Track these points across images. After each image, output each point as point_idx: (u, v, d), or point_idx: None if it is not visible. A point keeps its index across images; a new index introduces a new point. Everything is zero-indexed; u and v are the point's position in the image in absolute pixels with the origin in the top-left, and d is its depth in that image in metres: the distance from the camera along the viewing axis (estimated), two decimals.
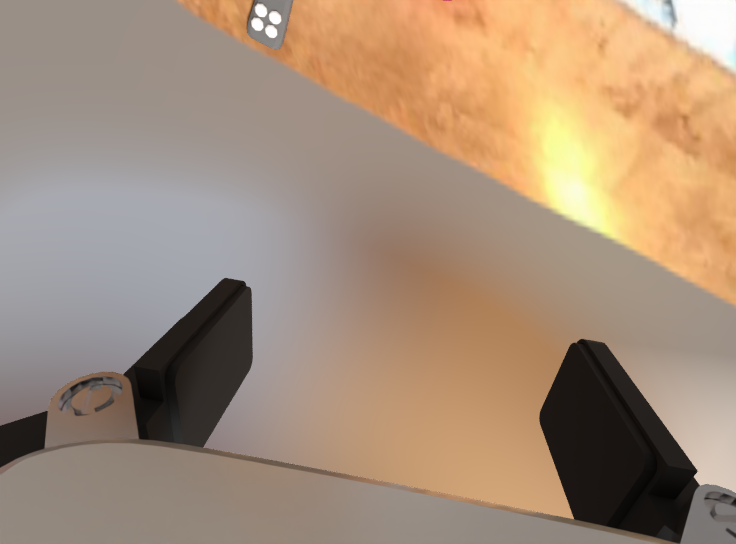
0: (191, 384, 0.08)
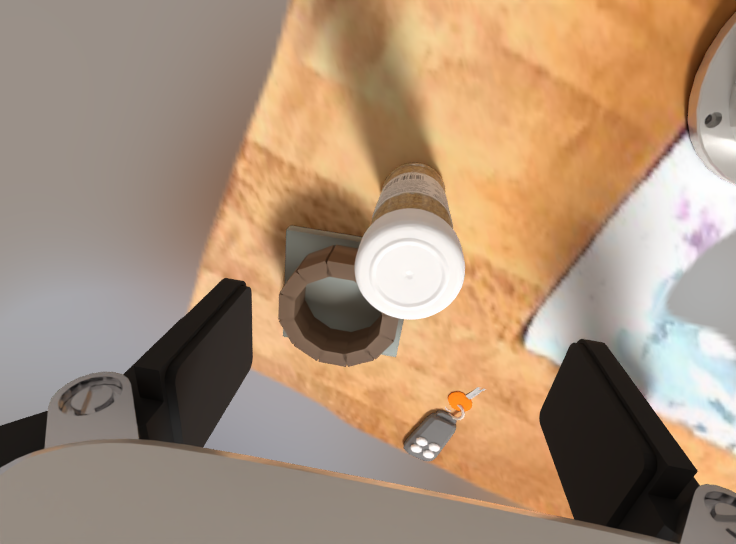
0: (191, 384, 0.08)
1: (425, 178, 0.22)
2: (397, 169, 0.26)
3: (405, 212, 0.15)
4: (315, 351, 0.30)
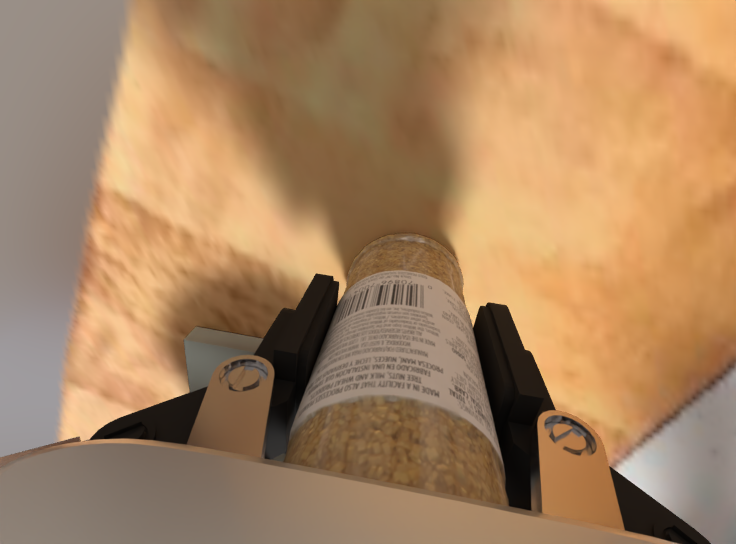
0: (310, 367, 0.09)
1: (427, 296, 0.10)
2: (373, 246, 0.14)
3: None
4: None
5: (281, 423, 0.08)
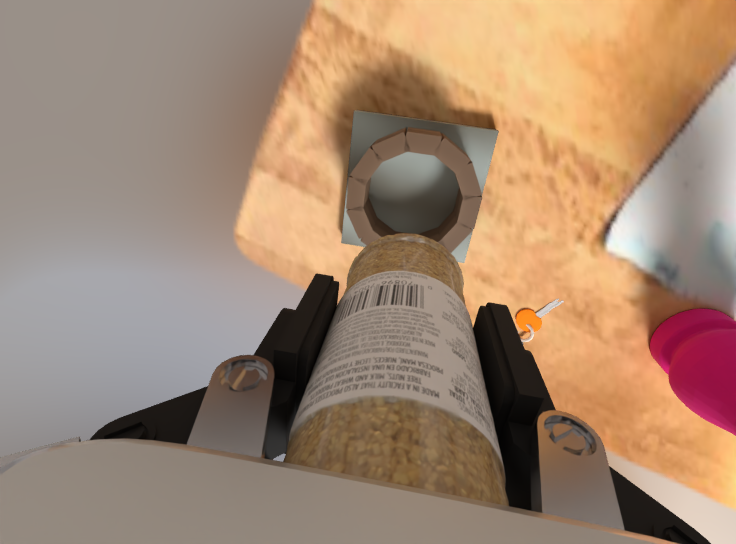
0: (310, 367, 0.09)
1: (427, 296, 0.10)
2: (373, 247, 0.14)
3: None
4: None
5: (281, 423, 0.08)
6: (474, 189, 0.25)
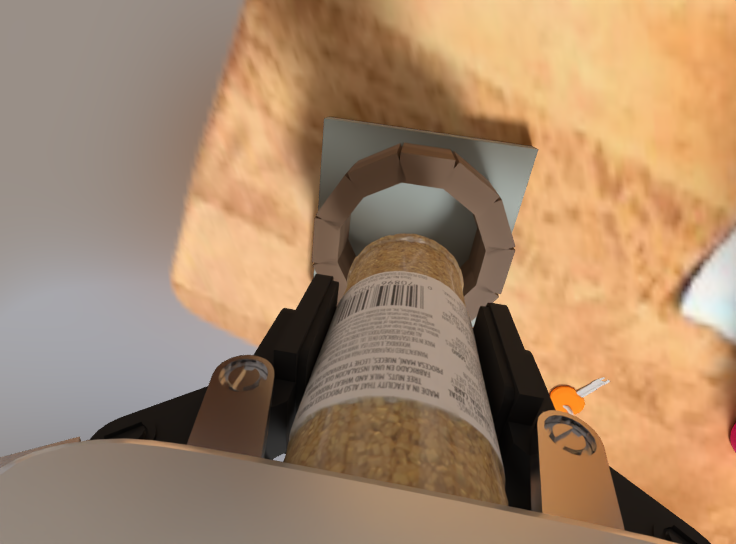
0: (310, 368, 0.09)
1: (427, 297, 0.10)
2: (373, 247, 0.14)
3: None
4: None
5: (281, 423, 0.08)
6: (503, 239, 0.16)
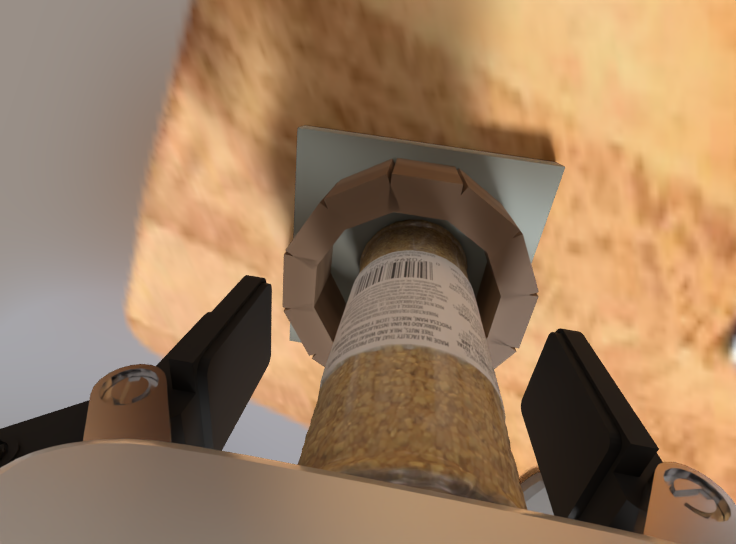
0: (220, 377, 0.08)
1: (436, 271, 0.11)
2: (384, 232, 0.15)
3: None
4: None
5: (178, 438, 0.08)
6: (524, 282, 0.13)
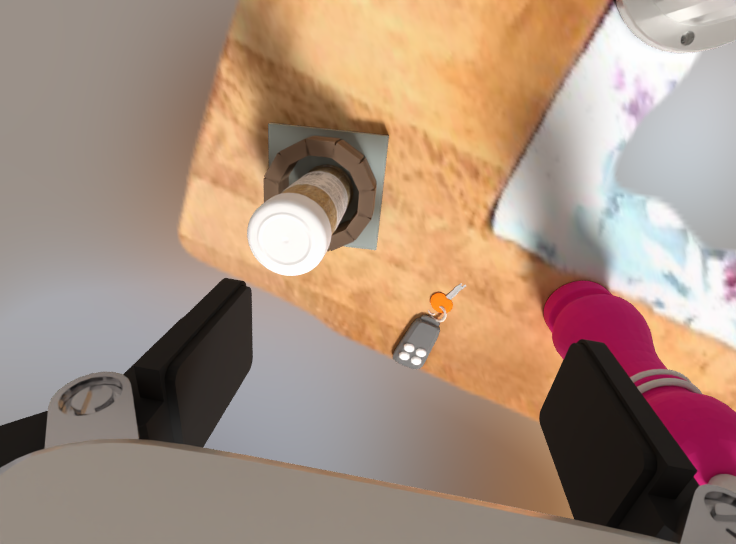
0: (191, 384, 0.08)
1: (323, 174, 0.28)
2: (311, 170, 0.32)
3: (281, 195, 0.21)
4: None
5: None
6: (367, 184, 0.30)
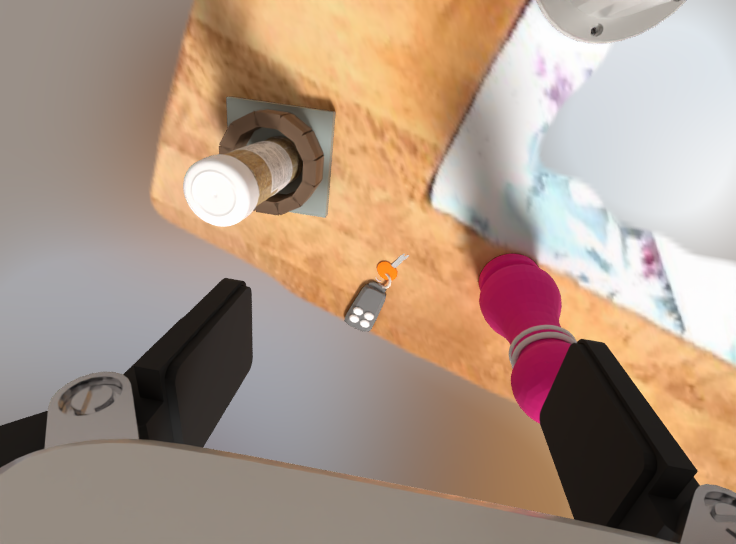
0: (191, 384, 0.08)
1: (267, 144, 0.31)
2: (264, 141, 0.35)
3: None
4: None
5: None
6: (310, 155, 0.33)
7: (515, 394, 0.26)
